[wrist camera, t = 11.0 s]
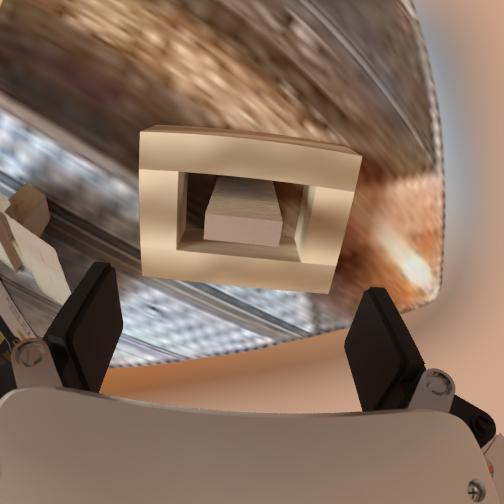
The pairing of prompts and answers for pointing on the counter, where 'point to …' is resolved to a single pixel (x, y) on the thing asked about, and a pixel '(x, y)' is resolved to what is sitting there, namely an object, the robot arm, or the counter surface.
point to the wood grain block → (243, 212)
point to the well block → (250, 166)
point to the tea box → (11, 326)
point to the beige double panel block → (31, 241)
